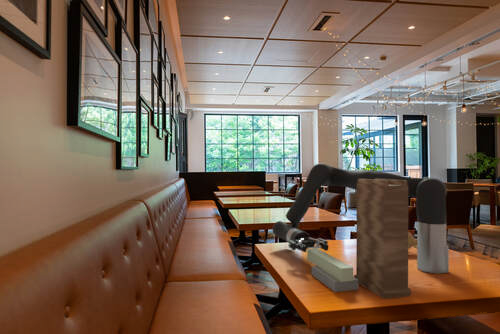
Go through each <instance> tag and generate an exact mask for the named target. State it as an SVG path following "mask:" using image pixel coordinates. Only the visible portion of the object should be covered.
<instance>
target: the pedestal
mask: <svg viewBox="0 0 500 334" xmlns="http://www.w3.org/2000/svg"><path fill="white" fill-rule="evenodd" d="M408 231H409V196H408V185H407V180H392V179H374V180H371V179H358V183H357V190H356V243H355V244H356V254H355V255H356V256H355V257H356V259H355V261H356V265H355V266H356V272H355V273H356V274H353V277H355V278H357V279H358V285H360V286H362V287H364V288H365V289H367V290H369V291H370V292H371V293H374V294H375V295H377V296H378V297H381V298H382V299H383V300H388V299H394V298H395V299H396V298H397V299H398V298H403V297H412V296H411V295H412V289H411V288H410V287H409V249H408Z"/></svg>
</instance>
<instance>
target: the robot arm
mask: <svg viewBox="0 0 500 334" xmlns="http://www.w3.org/2000/svg"><path fill="white" fill-rule="evenodd" d="M358 179H371V180H374V179H392V180H407V185H408V198H414V199H415V203H416V204H415V205H416V208H415V209H416V218H417V219H416V220H417V222H416V223H417V224H416V226H417V229H416V230H417V232H416V235H417V236H416V237H417V248H416V251H417V256H416V257H417V258H416V259H417V261H416V263H417V264H416V265H417V267H416V268H417V269H418V270H420V271H421V272H426V273H430V274H445V273H447V274H449V273H450V272H449V270H450V268H449V265H450V262H449V260H450V259H449V257H450V256H449V254H450V252H449V249H450V247H449V245H448V244H447V193H448V189H447V186H446V184H445V182H443V181H442V180H441V179H438V178H435V177H434V178H433V177H428V178H427V177H410V176H409V177H408V176H404V175H399V174H394V173H391V172H385V171H384V172H383V171H378V170H370V169H344V168H338V167H335V166H331V165H328V164H325V163H316V164H315V165H313V166H312V168H311V169H310V170H309V173H308V175H307V178H306V179H305V181H304V185H303V186H302V188H301V190H300V191H299V193H298V195H297V196H296V198H295V200H294V201H293V203H292V204H291V207H289V209H288V210H287V212H286V214H285V217H286V219H287V221H289V222H290V224H288V223H286V222H284V221H281V220H279V221H276V222H275V223H273V225H272V233H273V235H274V236H276V237H278V238H280V239H282V240H284V241H285V242H287V245H288V248H290V249H291V250H293V251H296V250H298V251H302V252H303V253H307V249H313V248H318V249H320V250H321V249H322V251H323V250H324V252H325V251H326V252H327V251H329V244H328V240H327V239H323V238H320V237H318V238H313V237H311V235H310V233H308V232H306V231H304V230H302V229H300V228H298V227H299V225H300V222H301V221H302V219H303V218H304V216H305V215H306V213H307V212H308V210H309V208H310V206H311V203H312V200H313V199H314V196H315V194H316V193H317V191H318V190H320V188H321V187H322V186H330V187H331V186H332V187H333V186H335V187H345V188H349V189H351V190H355V191H357V183H358Z"/></svg>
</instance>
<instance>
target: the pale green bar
mask: <svg viewBox="0 0 500 334" xmlns="http://www.w3.org/2000/svg"><path fill="white" fill-rule="evenodd" d="M306 253H307V255H306V256H307V258H306V259H307V261H308V262H310V263H311V264H313V265H314V266H318V267H319V268H321V269H322V270H324V271H325V272H327V273H328V274H330V275H331V276H333V277H334V278H336V279H337V280H339V281H340V282H346V281H353V277H354V267H353V266H351V265H349V264H347V263H345V262H344V261H341V260H340V259H339V258H336V257H334V256H332V255H331V254H329V253H327V252H325V251H323V250H321V248H308V249H306Z"/></svg>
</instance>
